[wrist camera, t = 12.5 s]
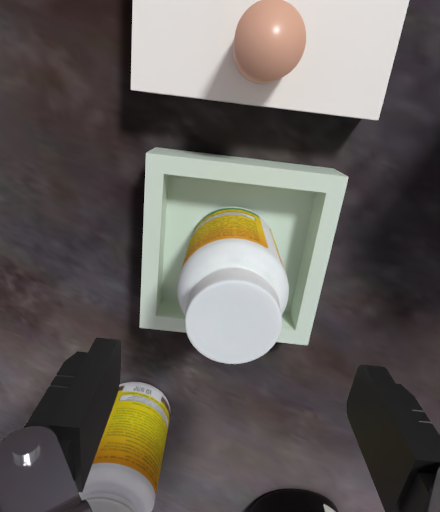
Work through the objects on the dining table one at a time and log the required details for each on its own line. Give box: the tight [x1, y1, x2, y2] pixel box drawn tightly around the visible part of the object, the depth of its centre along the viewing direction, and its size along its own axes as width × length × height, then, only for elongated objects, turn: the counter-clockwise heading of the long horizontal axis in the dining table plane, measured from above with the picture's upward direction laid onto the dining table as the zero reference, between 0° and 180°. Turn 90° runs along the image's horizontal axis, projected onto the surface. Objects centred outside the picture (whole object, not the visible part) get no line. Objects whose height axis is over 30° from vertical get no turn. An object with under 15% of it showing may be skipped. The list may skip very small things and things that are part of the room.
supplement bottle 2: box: [177, 207, 289, 364], centre depth 19 cm, size 5×5×10 cm
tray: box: [139, 147, 349, 345], centre depth 23 cm, size 11×11×3 cm
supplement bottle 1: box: [78, 382, 170, 512], centre depth 25 cm, size 6×6×10 cm
